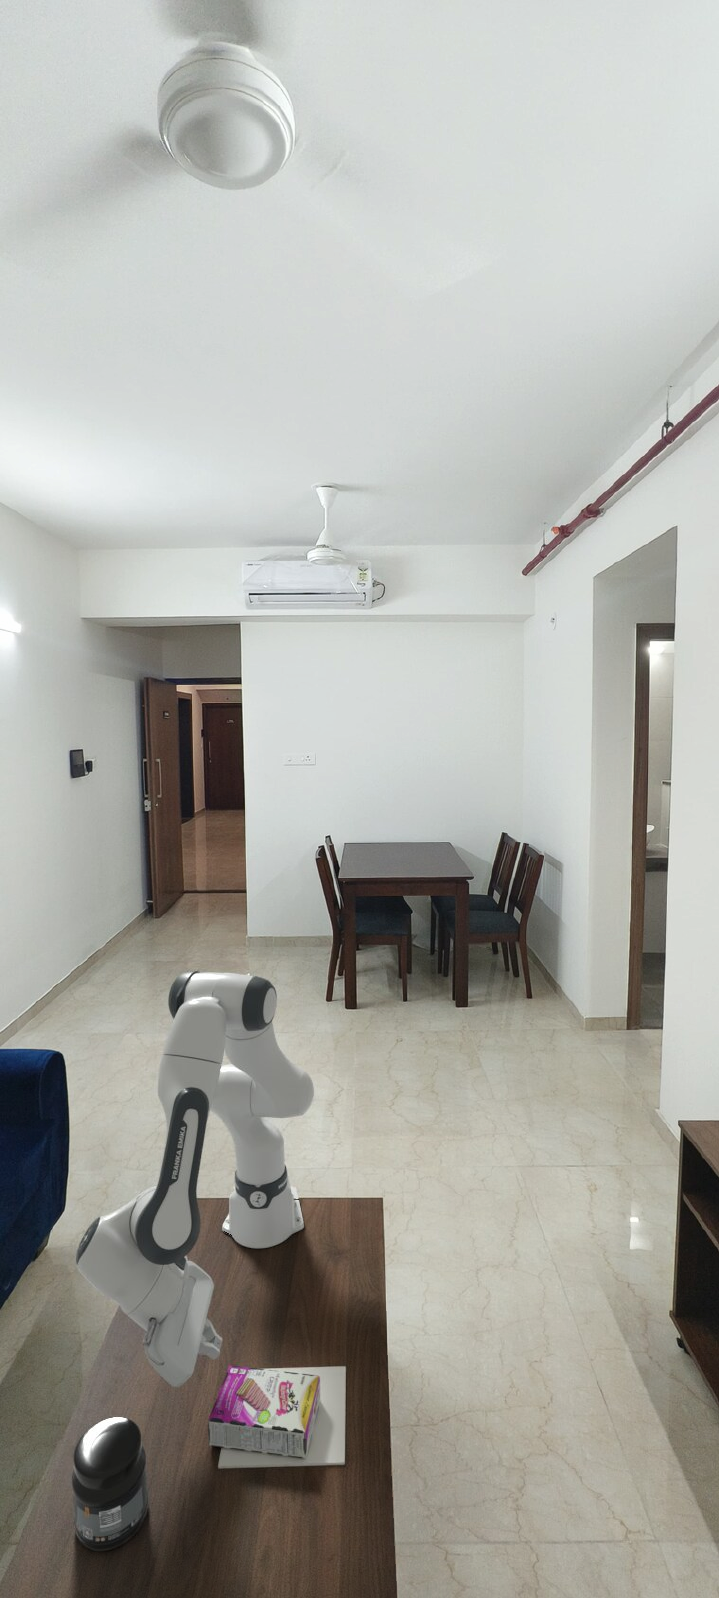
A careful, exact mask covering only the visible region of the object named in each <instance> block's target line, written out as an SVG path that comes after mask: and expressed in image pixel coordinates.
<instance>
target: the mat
mask: <svg viewBox="0 0 719 1598" xmlns="http://www.w3.org/2000/svg"><path fill="white" fill-rule="evenodd" d="M265 1369H266V1370H274V1371H283V1372H292V1373H301V1374H309V1375H319V1377H320V1403H319V1407H318V1411H317V1415H316V1420H315V1424H314V1428H313V1432H312V1436H311V1440H310V1444H309V1448H308V1452H307V1456H306V1459H304V1458H297V1457H289V1456H282V1455H274V1454H266V1453H259V1452H252V1451H245V1450H237V1449H229V1448H222V1447H220V1449H221V1450H220V1454H219V1460H218V1465H217V1468H218V1469H247V1468H250V1469H251V1468H274V1467H275V1468H277V1467H278V1468H280V1467H281V1468H282V1467H310V1466H313V1467H315V1466H344V1465H346V1395H347V1394H346V1393H347V1392H346V1388H347V1387H346V1386H347V1384H346V1383H347V1382H346V1381H347V1380H346V1379H347V1375H346V1374H347V1367H346V1366H345V1365H344V1366H311V1367H307V1366H306V1367H281V1368H280V1367H277V1368H275V1367H274V1368H273V1367H272V1368H265Z"/></svg>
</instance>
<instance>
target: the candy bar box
mask: <svg viewBox="0 0 719 1598" xmlns="http://www.w3.org/2000/svg"><path fill="white" fill-rule="evenodd" d="M266 1369H267V1368H256V1367H255V1368H254V1367H247V1366H239V1365H238V1366H237V1365H229V1366H228V1368H227V1371H226V1374H225V1376H224V1379H223V1381H222V1383H221V1386H220V1389H219V1392H218V1394H217V1397H216V1399H215V1401H214V1405H213V1407H212V1409H211V1413H210V1415H209V1417H208V1419H207V1431H208V1432H207V1433H208V1434H207V1435H208V1445H209V1447H214V1448H215V1447H216V1448H221V1447H222V1448H229V1449H237V1450H245V1451H252V1452H259V1453H266V1454H274V1455H282V1456H289V1457H297V1458H304V1459H306V1456H307V1452H308V1448H309V1444H310V1440H311V1436H312V1432H313V1428H314V1424H315V1420H316V1415H317V1411H318V1407H319V1403H320V1377H319V1375H309V1374H301V1373H292V1372H283V1371H274V1370H266Z"/></svg>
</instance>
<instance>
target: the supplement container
mask: <svg viewBox="0 0 719 1598" xmlns="http://www.w3.org/2000/svg"><path fill="white" fill-rule="evenodd" d="M141 1432H142V1431H141V1429H140V1428H139V1425H138V1424H137V1423H136V1422H135V1420H131V1419H130V1418H127V1417H124V1416H113V1417H109V1418H105V1419H102V1420H100V1421H98V1422H97V1423H94V1424H93V1425H91V1426H90V1427H89V1428H88V1429H87V1430H86V1431H84V1433H83V1434H82V1435H81V1437H80V1439H79V1440H78V1441H77V1443H76V1446H75V1448H74V1452H73V1457H72V1458H73V1459H72V1460H73V1468H72V1471H71V1478H70V1483H71V1484H70V1487H71V1489H72V1490H71V1491H72V1497H73V1499H72V1500H73V1514H74V1529H75V1533H76V1537H77V1538H78V1539H79V1542H80V1543H81V1544H82V1545H83V1547H85V1548H87V1549H89V1550H93V1551H96V1552H97V1551H98V1552H102V1551H103V1552H104V1551H111V1550H113V1549H115V1548H118V1547H120V1546H122V1545H123V1544H125V1543H126V1542H128V1541H129V1540H130V1539H131V1538H132V1537H134V1535H135V1534H136V1533H137V1531H138V1530H139V1529H140V1528H141V1526H142V1525H143V1523H144V1520H145V1519H146V1517H147V1516H146V1515H147V1512H148V1509H149V1492H148V1482H147V1481H148V1479H147V1451H146V1449H145V1446H144V1444H143V1442H142V1441H143V1440H142V1433H141Z"/></svg>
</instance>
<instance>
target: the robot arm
mask: <svg viewBox="0 0 719 1598" xmlns="http://www.w3.org/2000/svg"><path fill="white" fill-rule="evenodd" d="M277 996H278V995H277V991H276V988H275V986H274V985H273V983H272V982H271V981H270V980H268V979H266V978H263V977H260V976H258V975H257V976H252V975H250V974H241V973H236V972H235V973H233V972H228V971H227V972H213V971H211V972H210V971H209V972H200V971H198V970H195V971H193V970H192V971H185V972H183V973H181V974H180V975H179V976H178V977H176V978H175V980H174V981H173V983H172V984H171V987H170V989H169V993H168V998H167V999H168V1001H167V1003H168V1010H169V1013H170V1015H171V1017H172V1019H173V1020H172V1024H171V1025H170V1028H169V1031H168V1034H167V1037H166V1041H165V1044H164V1047H163V1052H162V1056H161V1060H160V1064H159V1070H158V1071H159V1072H158V1079H157V1096H158V1099H159V1101H160V1104H161V1106H162V1109H163V1112H164V1116H165V1122H166V1136H165V1142H164V1147H163V1153H162V1159H161V1164H160V1168H159V1175H158V1179H157V1184H156V1185H153V1186H152V1185H151V1186H150V1187H147V1188H145V1189H144V1190H142V1191H141V1192H140V1193H139V1194H138V1195H136V1196H135V1197H133V1199H131V1200H130V1201H128V1203H126V1204H125V1205H122V1206H121V1207H119V1208H118V1209H117V1210H114V1211H112V1212H110V1213H107V1214H106V1215H102V1216H98V1217H97V1218H96V1219H94V1220H93V1221H92V1223H91V1225H89V1226H88V1228H87V1230H86V1231H85V1233H84V1235H83V1236H82V1238H81V1240H80V1242H79V1245H78V1247H77V1249H76V1254H75V1255H76V1257H75V1262H76V1267H77V1270H78V1271H79V1272H80V1274H81V1276H83V1277H84V1278H85V1280H86V1281H87V1282H89V1283H90V1285H91V1286H93V1287H94V1288H95V1289H96V1291H97V1292H99V1293H100V1294H102V1296H103V1297H105V1298H107V1299H110V1300H111V1301H114V1302H115V1303H117V1305H119V1307H120V1309H121V1311H122V1312H123V1313H124V1314H125V1315H126V1316H128V1317H129V1319H131V1320H132V1321H133V1322H135V1323H136V1325H138V1326H139V1327H140V1328H142V1329H143V1330H144V1331H145V1335H144V1337H143V1339H142V1345H143V1348H144V1352H145V1357H146V1358H147V1360H148V1362H149V1363H150V1364H151V1366H152V1368H154V1370H155V1371H156V1372H157V1373H158V1374H159V1375H160V1376H161V1377H162V1378H163V1379H164V1380H165V1382H167V1383H168V1384H169V1385H170V1386H172V1387H173V1388H179V1387H181V1386H183V1385H184V1384H185V1383H186V1382H187V1381H188V1380H189V1378H191V1377H192V1375H193V1374H194V1370H195V1367H196V1363H197V1359H198V1355H203V1356H204V1355H205V1356H207V1357H208V1358H210V1360H213V1361H214V1360H216V1359H218V1357H220V1355H221V1349H222V1344H223V1340H224V1339H223V1338H222V1336H220V1335H219V1334H218V1333H217V1331H216V1329H215V1327H214V1325H213V1323H212V1321H211V1320H210V1319H208V1317H207V1316H208V1312H209V1309H210V1306H211V1305H210V1304H211V1301H212V1296H213V1292H214V1289H215V1283H214V1281H213V1279H212V1277H211V1276H210V1275H209V1274H208V1272H206V1271H205V1270H204V1269H202V1267H200V1266H199V1265H198V1264H197V1263H195V1262H194V1261H191V1260H189V1259H188V1255H189V1253H190V1252H191V1251H192V1250H193V1248H194V1247H195V1245H196V1243H197V1242H198V1239H199V1236H200V1234H201V1233H200V1232H201V1215H200V1214H201V1213H200V1208H199V1203H198V1196H197V1192H198V1191H197V1188H198V1181H199V1180H198V1179H199V1174H200V1167H201V1162H202V1154H203V1148H204V1143H205V1136H206V1129H207V1123H208V1120H209V1116H210V1112H212V1114H214V1115H215V1116H217V1117H218V1118H219V1119H220V1121H221V1122H222V1123H223V1125H224V1126H225V1128H226V1129H227V1131H228V1133H229V1134H230V1136H231V1140H232V1142H233V1145H234V1146H233V1148H234V1155H235V1167H236V1169H235V1172H234V1186H233V1189H232V1192H231V1193H230V1195H229V1198H228V1200H229V1201H228V1207H229V1208H228V1214H227V1216H226V1218H225V1220H224V1222H223V1224H222V1228H221V1230H222V1231H223V1232H224V1231H225V1232H227V1233H229V1234H228V1235H230V1234H231V1235H232V1236H231V1235H230V1236H231V1237H232V1238H233V1239H234V1241H235V1242H236V1243H238V1244H239V1245H240V1246H244V1247H246V1248H251V1249H266V1248H267V1249H268V1248H270V1247H271V1248H272V1247H274V1246H277V1245H279V1244H281V1243H283V1242H285V1241H286V1240H287V1239H288V1238H290V1237H291V1236H292V1235H293V1234H295V1233H297V1232H299V1231H301V1230H303V1229H304V1228H305V1224H304V1218H303V1213H302V1208H301V1205H300V1197H299V1193H298V1190H297V1187H296V1186H292V1185H291V1183H290V1178H289V1175H288V1169H287V1165H286V1164H285V1163H286V1162H285V1139H284V1137H283V1135H282V1132H281V1131H280V1130H279V1128H278V1127H277V1126H276V1125H275V1124H273V1123H272V1122H269V1120H267V1119H265V1118H270V1119H271V1118H273V1119H287V1118H294V1117H300V1116H304V1115H305V1113H306V1112H308V1110H309V1109H310V1107H311V1105H312V1103H313V1101H314V1095H315V1088H314V1083H313V1080H312V1078H311V1076H310V1074H309V1073H308V1072H307V1071H305V1070H304V1069H302V1068H300V1067H299V1066H297V1065H295V1064H294V1063H293V1062H292V1061H291V1060H290V1059H289V1058H287V1056H286V1055H285V1054H284V1053H283V1051H282V1050H281V1048H280V1046H279V1045H278V1042H277V1039H276V1035H275V1030H274V1024H273V1020H274V1017H275V1014H276V1009H277V1003H278V997H277ZM224 1053H225V1055H224ZM224 1056H226V1058H227V1060H228V1061H229V1062H230V1063H228V1064H223V1059H224ZM294 1199H299V1200H294ZM225 1232H224V1233H225ZM227 1233H226V1234H227Z"/></svg>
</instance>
